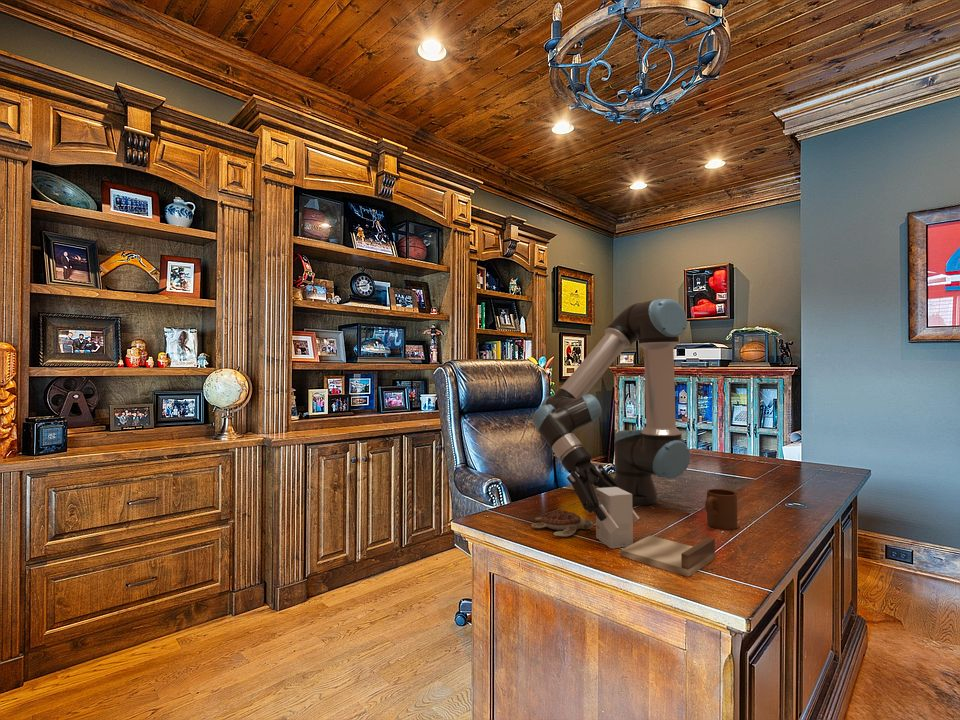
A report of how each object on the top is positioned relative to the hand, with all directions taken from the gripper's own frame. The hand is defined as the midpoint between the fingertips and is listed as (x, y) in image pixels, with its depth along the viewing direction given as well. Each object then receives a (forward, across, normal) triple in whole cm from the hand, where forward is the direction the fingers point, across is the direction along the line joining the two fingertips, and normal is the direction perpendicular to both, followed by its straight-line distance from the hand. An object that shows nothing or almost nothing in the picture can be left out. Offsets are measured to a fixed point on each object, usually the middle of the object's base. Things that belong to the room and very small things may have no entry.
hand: (625, 525), depth 124 cm
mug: (+11, -30, +4) cm, 32 cm away
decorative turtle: (-10, 0, -18) cm, 20 cm away
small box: (+1, 0, -6) cm, 6 cm away
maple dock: (+11, 0, +4) cm, 12 cm away
